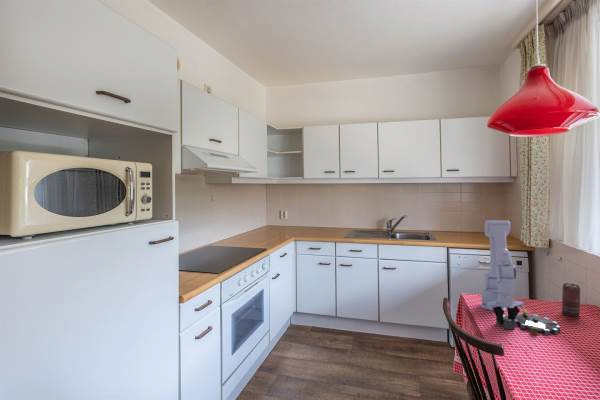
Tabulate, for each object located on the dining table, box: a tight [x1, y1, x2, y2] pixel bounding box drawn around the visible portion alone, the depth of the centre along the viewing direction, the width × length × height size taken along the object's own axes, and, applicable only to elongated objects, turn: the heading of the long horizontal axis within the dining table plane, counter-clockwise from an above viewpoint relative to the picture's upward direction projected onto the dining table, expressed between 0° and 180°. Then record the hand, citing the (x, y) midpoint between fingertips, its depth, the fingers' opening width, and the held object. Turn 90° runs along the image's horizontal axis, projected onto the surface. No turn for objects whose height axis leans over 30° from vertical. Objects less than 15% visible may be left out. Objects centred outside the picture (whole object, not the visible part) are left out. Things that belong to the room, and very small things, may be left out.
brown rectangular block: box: [530, 327, 538, 336], centre depth 124 cm, size 2×1×3 cm, turn 50°
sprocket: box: [515, 309, 561, 335], centre depth 132 cm, size 16×16×4 cm
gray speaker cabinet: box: [495, 314, 516, 331], centre depth 131 cm, size 6×4×4 cm, turn 0°
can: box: [561, 282, 581, 318], centre depth 141 cm, size 6×6×14 cm
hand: (505, 323), depth 131 cm, fingers closed on gray speaker cabinet, 4 cm apart
